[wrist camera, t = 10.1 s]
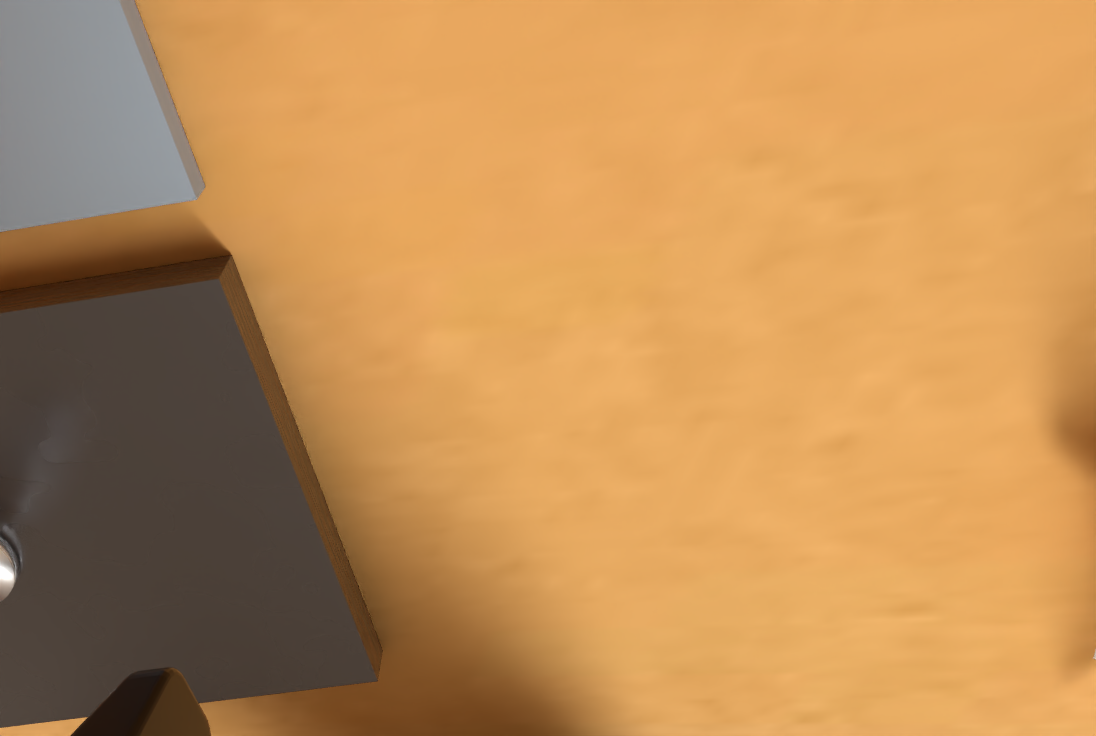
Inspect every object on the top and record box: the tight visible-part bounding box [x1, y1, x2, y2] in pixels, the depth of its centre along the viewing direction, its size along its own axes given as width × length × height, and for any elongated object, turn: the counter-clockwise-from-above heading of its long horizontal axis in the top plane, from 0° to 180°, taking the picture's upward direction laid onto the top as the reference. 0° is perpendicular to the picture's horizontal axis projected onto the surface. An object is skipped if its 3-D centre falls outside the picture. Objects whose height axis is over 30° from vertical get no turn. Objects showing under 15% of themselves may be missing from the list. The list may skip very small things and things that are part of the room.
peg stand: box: [0, 255, 382, 728], centre depth 21 cm, size 12×12×6 cm
